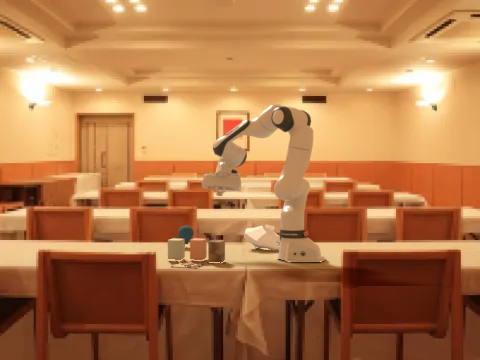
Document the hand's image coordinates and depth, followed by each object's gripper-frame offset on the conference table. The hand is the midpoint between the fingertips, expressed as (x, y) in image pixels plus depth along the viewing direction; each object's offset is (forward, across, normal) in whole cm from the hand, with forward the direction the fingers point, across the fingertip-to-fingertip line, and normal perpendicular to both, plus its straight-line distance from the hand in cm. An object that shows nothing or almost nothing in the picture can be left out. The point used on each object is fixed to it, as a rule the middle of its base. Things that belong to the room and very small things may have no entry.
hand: (219, 195), depth 275 cm
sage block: (+38, -14, +3) cm, 41 cm away
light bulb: (+13, -19, +32) cm, 40 cm away
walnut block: (+39, +6, 0) cm, 39 cm away
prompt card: (+46, -6, -7) cm, 46 cm away
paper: (+10, +24, +32) cm, 41 cm away
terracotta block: (+36, -4, +4) cm, 37 cm away
